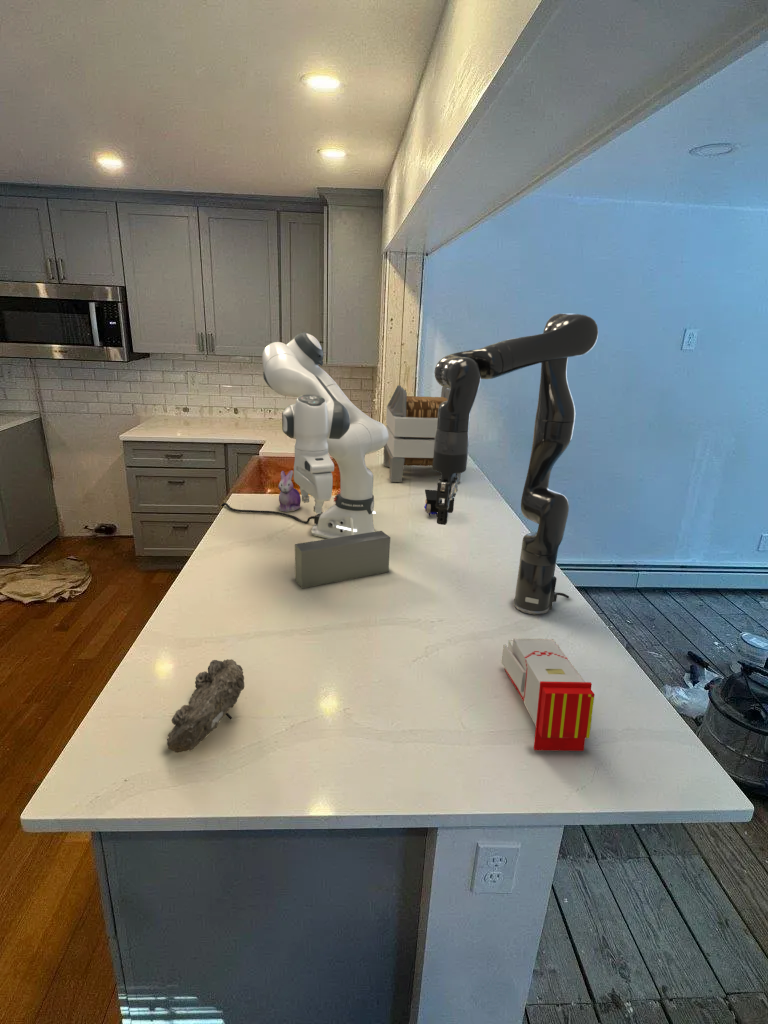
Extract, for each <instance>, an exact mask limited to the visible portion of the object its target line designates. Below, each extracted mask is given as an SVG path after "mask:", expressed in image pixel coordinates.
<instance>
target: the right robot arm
mask: <svg viewBox="0 0 768 1024" xmlns="http://www.w3.org/2000/svg"><path fill="white" fill-rule="evenodd" d="M598 337H599V327H598V324H597V322H596V320H595V319H593V318H592V317H591V316H589V315H586V314H581V313H564V312H563V313H555V314H553V315H552V316H550V317H549V319H548V320H547V321H546V323H545V325H544V328H543V331H542V333H539V334H532V335H525V336H520V337H513V338H509V339H504V340H501V341H497V342H494V343H492V344H488V345H486V346H484V347H481V348H476V349H469V350H464V351H458V352H454V353H450V354H447V355H445V356H444V357H442V358H441V359H440V360H439V361H438V362H437V363H436V365H435V367H434V373H433V374H434V378H435V380H436V382H437V383H438V384H439V386H440V387H445V388H447V389H450V394H449V398H448V401H444V402H442V403H441V404H440V405H439V408H438V418H437V430H436V435H435V442H434V456H433V466H432V468H433V470H434V471H436V472H439V473H440V474H441V473H442V474H441V475H440V478H438V481H437V487H436V488H437V489H436V490H437V498H436V505H435V506H436V508H438V512H437V513H438V514H437V517H436V524H438V525H443V526H445V525H447V524H448V516H449V514H452V513H453V512H454V507H455V498H456V496H457V492H458V486H459V485H458V484H459V483H458V474H459V473H461V474H463V473H464V472H466V471H467V467H468V466H467V465H468V455H469V445H470V422H471V421H470V419H471V411H472V408H473V406H474V404H475V400H476V397H477V394H478V392H479V389H480V386H481V385H480V384H481V380H493V379H496V378H499V377H502V376H505V375H508V374H511V373H513V372H516V371H520V370H522V369H525V368H528V367H531V366H535V365H538V364H540V367H541V368H540V378H539V379H540V380H539V388H538V389H539V390H538V391H539V392H538V400H537V407H536V412H535V419H534V427H533V434H532V435H533V436H532V445H531V451H530V458H529V463H528V469H527V473H526V476H525V481H524V486H523V488H522V489H523V490H522V494H521V500H520V511H521V514H522V515H523V517H525V518H526V519H527V520H529V521H531V522H533V523H535V524H536V525H537V524H538V526H537V531H536V532H529V533H526V534H525V535H524V536H523V538H522V542H521V550H520V555H519V556H520V557H519V564H518V573H517V578H516V587H515V593H514V599H513V607H514V608H515V609H516V610H518V611H519V612H521V613H525V614H528V615H534V616H537V615H538V616H540V615H544V614H547V613H548V612H549V611H550V610H552V609H553V604H554V603H556V602H557V600H558V596H561V597H564V598H566V599H569V598H570V596H569V595H568V594H566V593H563V592H556V591H555V590H556V585H557V576H555V572H556V566H557V559H558V554H559V553H558V552H559V547H560V545H561V543H562V542H563V539H564V535H565V531H566V526H567V522H568V518H569V511H570V505H569V504H570V503H569V500H568V498H567V497H566V496H565V495H564V494H562V493H560V492H558V491H555V490H552V489H549V484H550V478H551V473H552V470H553V467H555V464H556V463H557V461H558V460H559V458H560V457H562V455H563V454H564V453H565V451H566V450H567V449H568V447H569V446H570V443H571V442H572V439H573V434H574V427H575V421H576V407H575V403H574V398H573V396H572V393H571V390H570V387H569V386H570V385H569V381H568V377H567V376H568V374H567V372H568V371H567V370H568V361H569V358H572V357H581V356H584V355H587V354H588V353H589V352H590V351H592V349H594V347H595V345H596V344H597V341H598ZM441 500H442V501H443V500H444V501H443V502H442V503H441Z"/></svg>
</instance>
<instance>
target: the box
mask: <svg viewBox="0 0 768 1024" xmlns="http://www.w3.org/2000/svg"><path fill="white" fill-rule="evenodd" d="M390 550H391V536H389V535H388V534H386V533H385V532H384V531H383V530H377V531H376V530H375V532H369V533H363V534H356V535H350V536H344V537H337V538H331V539H327V538H323V539H318V540H312V541H306V542H305V541H304V542H299V543H298V542H297V543H294V575H295V576H294V580H295V582H296V583H297V585H299V587H300V588H301V589H306V588H313V587H317V586H323V585H327V584H332V583H338V582H343V581H348V580H353V579H354V580H355V579H358V578H363V577H370V576H375V575H379V574H384V573H389V571H390V552H391V551H390Z"/></svg>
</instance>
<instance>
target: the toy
mask: <svg viewBox="0 0 768 1024" xmlns="http://www.w3.org/2000/svg"><path fill="white" fill-rule="evenodd" d="M500 661H501V662H500V663H501V664H502V666H503V668H504V671H505V673H506V674H507V676H508V678H509V679H510V681H511V684H512V685H513V686H514V688H515V691H517V693H518V695H519V696H520V699H521V700H522V702H523V704H524V706H525V708H526V711H527V712H528V714H529V716H530V718H531V720H532V723H533V724H534V726H535V731H534V741H533V750H534V751H554V752H555V751H556V752H557V751H558V752H564V751H565V752H584V751H585V743H586V739H590V737H591V736H590V735H591V727H592V718H593V710H594V702H595V692H593V690H592V685H593V684H592V682H590V681H585V679H584V678H583V676H582V675H581V674H580V673H579V672H578V670H577V669H576V668H575V666H574V665H573V663H572V662H571V661H570V659H569V658H568V657H567V655H566V654H565V653H564V651H563V650H562V649H561V648H560V646H559V644H558V643H557V642H556V640H554V638H517V637H515V638H512V639H508V643H507V644H503V647H502V653H501V660H500Z"/></svg>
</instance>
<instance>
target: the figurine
mask: <svg viewBox="0 0 768 1024" xmlns="http://www.w3.org/2000/svg"><path fill="white" fill-rule="evenodd" d="M293 476H294V470H292V469H291V470H289V471H288V473H286V472H285V470H281V472H280V481H279V482H278V490H279V491H280V492H279V494H278V502H279V503H278V504H279V506H278V507H279V508H278V509H279V512H283V513H288V512H294V511H297V510H299V509H300V508H301V502H302V497H301V493H300V492H299V490H298V489H296V488H294V484H293V482H292V479H293Z"/></svg>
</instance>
